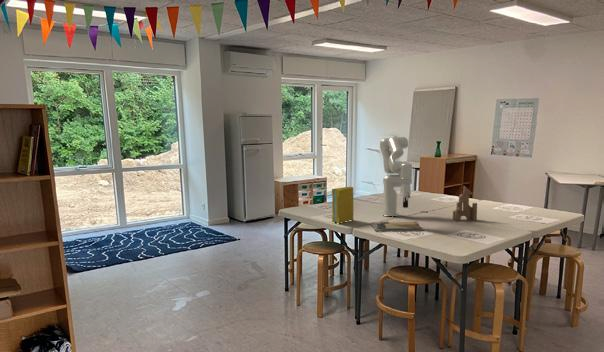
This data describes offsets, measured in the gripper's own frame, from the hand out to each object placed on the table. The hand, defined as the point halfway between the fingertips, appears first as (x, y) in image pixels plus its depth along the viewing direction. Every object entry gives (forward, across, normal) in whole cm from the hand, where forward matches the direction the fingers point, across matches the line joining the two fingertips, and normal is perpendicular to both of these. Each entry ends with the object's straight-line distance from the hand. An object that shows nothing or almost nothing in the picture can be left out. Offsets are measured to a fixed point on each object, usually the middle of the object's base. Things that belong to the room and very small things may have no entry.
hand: (405, 207), depth 281 cm
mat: (+13, +3, -7) cm, 15 cm away
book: (+14, -16, -41) cm, 46 cm away
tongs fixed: (+12, +9, -7) cm, 17 cm away
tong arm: (+12, +8, -7) cm, 16 cm away
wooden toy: (+14, -14, +47) cm, 51 cm away
